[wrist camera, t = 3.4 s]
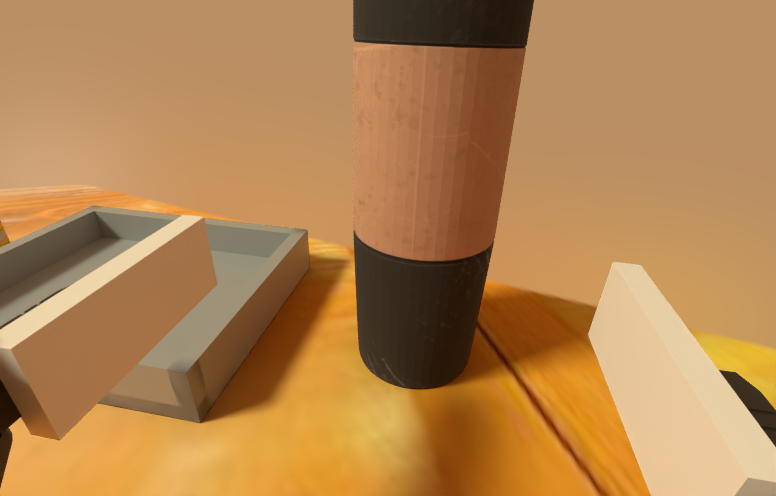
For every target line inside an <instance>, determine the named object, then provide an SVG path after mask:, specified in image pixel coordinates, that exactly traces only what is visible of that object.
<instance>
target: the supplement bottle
mask: <svg viewBox="0 0 776 496" xmlns="http://www.w3.org/2000/svg"><path fill="white" fill-rule="evenodd" d="M9 243H10V241H9V238H8V236H7V234H6V232H5V230H4V228H3V226H2V224H1V221H0V247H2V246H4V245H7V244H9Z"/></svg>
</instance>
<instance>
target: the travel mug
mask: <svg viewBox="0 0 776 496" xmlns="http://www.w3.org/2000/svg"><path fill="white" fill-rule="evenodd" d="M353 1H354V3H353V5H354V7H353V8H354V10H353V11H354V12H353V13H354V14H353V15H354V16H353V20H354V21H353V23H354V25H353V27H354V28H353V31H354V34H353V37H354V40H355V41H354V43H353V45H354V46H353V52H354V53H353V55H354V57H353V59H354V62H353V69H354V70H353V71H354V72H353V78H354V82H353V87H354V88H353V89H354V90H353V99H354V100H353V104H354V107H353V114H354V115H353V118H354V119H353V147H354V148H353V226H354V254H355V277H356V299H357V322H358V340H359V351H360V354H361V357H362V360H363V362H364V363H365V365H366V366H367V368H368V369H369V370H370V371H371V372H372V373H373V374H375V375H376V376H377V377H379V378H380V379H382V380H384V381H386V382H388V383H390V384H393V385H396V386H400V387H404V388H410V389H427V388H433V387H437V386H441V385H444V384H446V383H448V382H450V381H452V380H453V379H455V378H456V377H457V376H458V375H459V374H460V373H461V372H462V371H463V369H464V368H465V366H466V364H467V361H468V358H469V355H470V351H471V346H472V342H473V337H474V333H475V328H476V323H477V319H478V314H479V309H480V305H481V300H482V295H483V291H484V286H485V281H486V276H487V271H488V267H489V262H490V258H491V253H492V248H493V243H494V238H495V233H496V227H497V220H498V214H499V208H500V202H501V196H502V190H503V184H504V178H505V172H506V166H507V160H508V154H509V147H510V142H511V136H512V130H513V123H514V118H515V112H516V106H517V99H518V93H519V87H520V81H521V75H522V69H523V63H524V57H525V51H526V48H525V46H526V45H527V39H528V33H529V27H530V21H531V15H532V9H533V3H534V0H353Z"/></svg>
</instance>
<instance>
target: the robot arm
mask: <svg viewBox="0 0 776 496" xmlns="http://www.w3.org/2000/svg"><path fill="white" fill-rule="evenodd" d="M217 285H218V284H217V279H216V274H215V269H214V265H213V260H212V255H211V250H210V245H209V240H208V235H207V230H206V225H205V220H204V217H200V216H191V215H182V216H180V217H179V218H177V219H176V220H174V221H172V222H171V223H169V224H168V225H166V226H165V227H163V228H161V229H160V230H158V231H157V232H155V233H153V234H152V235H150V236H149V237H147V238H145V239H144V240H142V241H141V242H139V243H137V244H136V245H134V246H133V247H131V248H129V249H128V250H126V251H125V252H123V253H121V254H120V255H118V256H117V257H115V258H113V259H112V260H110V261H109V262H107V263H106V264H104V265H102V266H101V267H99V268H98V269H96V270H94V271H93V272H91V273H90V274H88V275H86V276H85V277H83V278H82V279H80V280H78V281H77V282H75V283H74V284H72V285H70V286H68V287H65V288H63V289H60V290H58V291H56V292H55V293H53V294H52V295H50V296H48V297H47V298H45V299H44V300H42V301H40V303H39V305H37V304H36V305H34V306H32V307H31V308H29V309H27V310H26V311H24V314H19V315H18V316H16V317H15V318H13V319H11V320H10V321H8V322H6V323H5V324H3V325H2V326H0V487H1V483H2V479H3V475H4V471H5V468H6V464H7V460H8V456H9V452H10V448H11V445H12V441H13V440H12V433H11V431H10V429H9V428H8V427H9V426H11V425H12V424H13V423H14V422H15V421H16V420H18V419H19V418H20V417H21V418H22V420H23V421H24V423H25V425H26V426H27V428H28V430H29V431H30V433H31V435H36V436H41V437H46V438H51V439H56V440H61V439H62V438H63V437H64V436H65V435H66V434H67V433H68V432H69V431H70V430H71V429H72V428H73V427H74V426H75V425H76V424H77V423H78V422H79V421H80V420H81V419H82V418H83V417H84V416H85V415H86V414H87V413H88V412H89V411H90V410H91V409H92V408H93V407H94V406H95V405H96V404H97V403H98V402H99V401H100V400H101V399H102V398H103V397H104V396H105V395H106V394H107V393H108V392H109V391H110V390H111V389H112V388H113V387H114V386H115V385H116V384H117V383H118V382H119V381H120V380H121V379H122V378H123V377H124V376H125V375H127V374H128V373H129V372H130V371H131V370H132V369H133V368H134V367H135V366H136V365H137V364H138V363H139V362H140V361H141V360H142V359H143V358H144V357H145V356H146V355H147V354H148V353H149V352H150V351H151V350H152V349H153V348H154V347H155V346H156V345H157V344H158V343H159V342H160V341H161V340H162V339H163V338H164V337H165V336H166V335H167V334H168V333H169V332H170V331H171V330H172V329H173V328H174V327H175V326H176V325H177V324H178V323H179V322H180V321H181V320H182V319H183V318H184V317H185V316H186V315H187V314H188V313H189V312H190V311H191V310H192V309H193V308H194V307H195V306H196V305H197V304H198V303H199V302H200V301H201V300H202V299H203V298H204V297H205V296H206V295H207V294H208V293H209V292H211V291H212V290H213V289H214V288H215V287H216V286H217ZM588 336H589V339H590V341H591V344H592V346H593V349H594V352H595V354H596V357H597V359H598V362H599V364H600V367H601V369H602V372H603V375H604V377H605V380H606V382H607V385H608V387H609V390H610V392H611V395H612V398H613V400H614V403H615V405H616V408H617V410H618V413H619V415H620V418H621V420H622V423H623V426H624V428H625V431H626V433H627V436H628V438H629V441H630V443H631V446H632V449H633V451H634V454H635V456H636V459H637V461H638V464H639V466H640V469H641V472H642V474H643V477H644V479H645V482H646V484H647V487H648V489H649V492H650V495H651V496H776V410H775V409H774V408H773V407H772V405H771V404H770V403H769V402H768V400H767V399H766V398H765V397H764V395H763V394H762V393H761V392H760V391H759V390H758V389H756V388H755V387H754V386H752V385H751V384H750V383H749V382H747V381H746V380H745V379H743V378H742V377H741V376H740V375H738V374H737V373H736V372H729V371H722V370H718V369H717V367H716V366H715V365H714V363H713V362H712V361H711V359H710V358H709V356H708V355H707V354H706V352H705V351H704V350H703V348H702V347H701V346H700V344H699V343H698V342H697V340H696V339H695V338H694V336H693V335H692V333H691V332H690V331H689V329H688V328H687V327H686V325H685V324H684V323H683V321H682V320H681V319H680V317H679V316H678V315H677V313H676V312H675V311H674V309H673V308H672V306H671V305H670V304H669V302H668V301H667V300H666V299H665V297H664V296H663V294H662V293H661V292H660V290H659V289H658V288H657V286H656V285H655V283H654V282H653V281H652V280H651V278H650V277H649V275H648V274H647V273H646V271H645V270H644V269H643V267H642V266H641V265H637V264H628V263H619V262H613V263H612V266H611V269H610V272H609V275H608V278H607V280H606V284H605V286H604V289H603V292H602V295H601V298H600V301H599V304H598V307H597V310H596V312H595V315H594V318H593V321H592V324H591V327H590V330H589V333H588Z"/></svg>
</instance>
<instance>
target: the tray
mask: <svg viewBox="0 0 776 496" xmlns="http://www.w3.org/2000/svg"><path fill="white" fill-rule="evenodd" d="M180 216H181V215H172V214H163V213H154V212H146V211H137V210H128V209H119V208H110V207H101V206H91V207H89V208H87V209H84V210H82V211H80V212H78V213H76V214H73V215H71V216H69V217H67V218H64V219H62V220H60V221H58V222H56V223H53V224H51V225H49V226H47V227H44V228H42V229H40V230H38V231H35V232H33V233H31V234H29V235H27V236H24V237H22V238H20V239H18V240H15V241H13V242H11V243H9V244H7V245H4V246H2V247H0V326H2V325H3V324H5V323H6V322H8V321H10V320H11V319H13V318H15V317H16V316H18V315H19V314H24V311H26V310H27V309H29V308H31V307H32V306H34V305H36V304H37V305H39V303H40V301H42V300H44V299H45V298H47V297H48V296H50V295H52V294H53V293H55V292H56V291H58V290H60V289H63V288H65V287H68V286H70V285H72V284H74V283H75V282H77V281H78V280H80V279H82V278H83V277H85V276H86V275H88V274H90V273H91V272H93V271H94V270H96V269H98V268H99V267H101V266H102V265H104V264H106V263H107V262H109V261H110V260H112V259H113V258H115V257H117V256H118V255H120V254H121V253H123V252H125V251H126V250H128V249H129V248H131V247H133V246H134V245H136V244H137V243H139V242H141V241H142V240H144V239H145V238H147V237H149V236H150V235H152V234H153V233H155V232H157V231H158V230H160V229H161V228H163V227H165V226H166V225H168V224H169V223H171V222H172V221H174V220H176V219H177V218H179V217H180ZM204 220H205V225H206V230H207V235H208V240H209V245H210V250H211V255H212V260H213V265H214V269H215V274H216V279H217V284H218V285H217V286H216V287H215V288H214V289H213V290H212V291H211V292H209V293H208V294H207V295H206V296H205V297H204V298H203V299H202V300H201V301H200V302H199V303H198V304H197V305H196V306H195V307H194V308H193V309H192V310H191V311H190V312H189V313H188V314H187V315H186V316H185V317H184V318H183V319H182V320H181V321H180V322H179V323H178V324H177V325H176V326H175V327H174V328H173V329H172V330H171V331H170V332H169V333H168V334H167V335H166V336H165V337H164V338H163V339H162V340H161V341H160V342H159V343H158V344H157V345H156V346H155V347H154V348H153V349H152V350H151V351H150V352H149V353H148V354H147V355H146V356H145V357H144V358H143V359H142V360H141V361H140V362H139V363H138V364H137V365H136V366H135V367H134V368H133V369H132V370H131V371H130V372H129V373H128V374H127V375H125V376H124V377H123V378H122V379H121V380H120V381H119V382H118V383H117V384H116V385H115V386H114V387H113V388H112V389H111V390H110V391H109V392H108V393H107V394H106V395H105V396H104V397H103V398H102V399H101V400H100V401H99V402H98V403H101V404H106V405H111V406H116V407H121V408H126V409H131V410H136V411H142V412H147V413H152V414H157V415H162V416H167V417H172V418H177V419H183V420H188V421H193V422H198V423H200V422H201V421H202V419H203V418H204V417H205V415H206V414H207V412H208V411H209V410H210V408H211V407H212V405H213V404H214V402H215V401H216V400H217V398H218V397H219V395H220V394H221V392H222V391H223V390H224V388H225V387H226V385H227V384H228V382H229V381H230V380H231V378H232V377H233V375H234V374H235V373H236V371H237V370H238V368H239V367H240V365H241V364H242V363H243V361H244V360H245V358H246V357H247V355H248V354H249V353H250V351H251V350H252V348H253V347H254V345H255V344H256V343H257V341H258V340H259V338H260V337H261V336H262V334H263V333H264V331H265V330H266V328H267V327H268V326H269V324H270V323H271V321H272V320H273V318H274V317H275V316H276V314H277V313H278V311H279V310H280V309H281V307H282V306H283V304H284V303H285V301H286V300H287V299H288V297H289V296H290V294H291V293H292V291H293V290H294V289H295V287H296V286H297V284H298V283H299V281H300V280H301V279H302V277H303V276H304V274H305V273H306V272H307V270H308V269H309V267H310V260H309V246H308V231H307V230H305V229H296V228H287V227H278V226H269V225H260V224H252V223H243V222H234V221H225V220H216V219H207V218H204Z"/></svg>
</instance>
